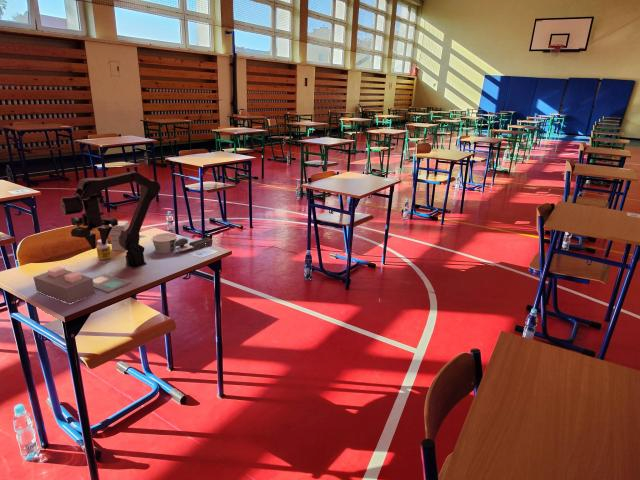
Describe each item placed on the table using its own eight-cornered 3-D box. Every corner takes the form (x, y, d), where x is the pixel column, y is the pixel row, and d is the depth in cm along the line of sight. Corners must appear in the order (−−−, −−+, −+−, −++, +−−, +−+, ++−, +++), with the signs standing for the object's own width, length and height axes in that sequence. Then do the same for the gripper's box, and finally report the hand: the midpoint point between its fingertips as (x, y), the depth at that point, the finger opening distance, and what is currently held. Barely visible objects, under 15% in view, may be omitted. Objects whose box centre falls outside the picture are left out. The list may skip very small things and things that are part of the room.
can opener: (180, 255, 197) (178, 242, 195) (174, 252, 201) (173, 239, 198) (213, 244, 211) (212, 232, 209) (207, 242, 214) (206, 230, 212)
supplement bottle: (103, 263, 186) (100, 243, 183) (96, 261, 189) (92, 240, 185) (114, 259, 191) (111, 239, 187) (107, 257, 193) (103, 237, 190)
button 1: (60, 275, 163) (58, 266, 162) (66, 277, 161) (64, 268, 160) (49, 279, 160) (47, 270, 158) (56, 281, 158) (54, 272, 156)
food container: (147, 250, 202) (145, 237, 200) (168, 243, 211) (167, 231, 209) (162, 256, 196) (161, 242, 193) (183, 248, 205) (182, 236, 203)
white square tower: (116, 245, 208) (113, 221, 204) (132, 244, 209) (128, 220, 204) (111, 250, 201) (107, 225, 197) (127, 250, 202) (123, 225, 198)
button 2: (76, 281, 159) (74, 271, 157) (83, 283, 157) (81, 273, 156) (66, 285, 155) (64, 275, 154) (72, 287, 154) (70, 277, 152)
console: (62, 282, 167) (59, 267, 165) (95, 293, 159) (92, 278, 157) (37, 292, 159) (33, 277, 157) (69, 304, 150) (66, 288, 148)
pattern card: (104, 274, 175) (104, 273, 175) (130, 283, 168) (130, 281, 168) (81, 284, 166) (81, 282, 166) (108, 293, 160) (108, 291, 159)
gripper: (95, 202, 178) (101, 237, 183) (56, 214, 161) (64, 252, 166) (116, 205, 174) (121, 240, 180) (78, 217, 158) (86, 255, 163)
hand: (98, 246), depth 172 cm, fingers open, 5 cm apart
